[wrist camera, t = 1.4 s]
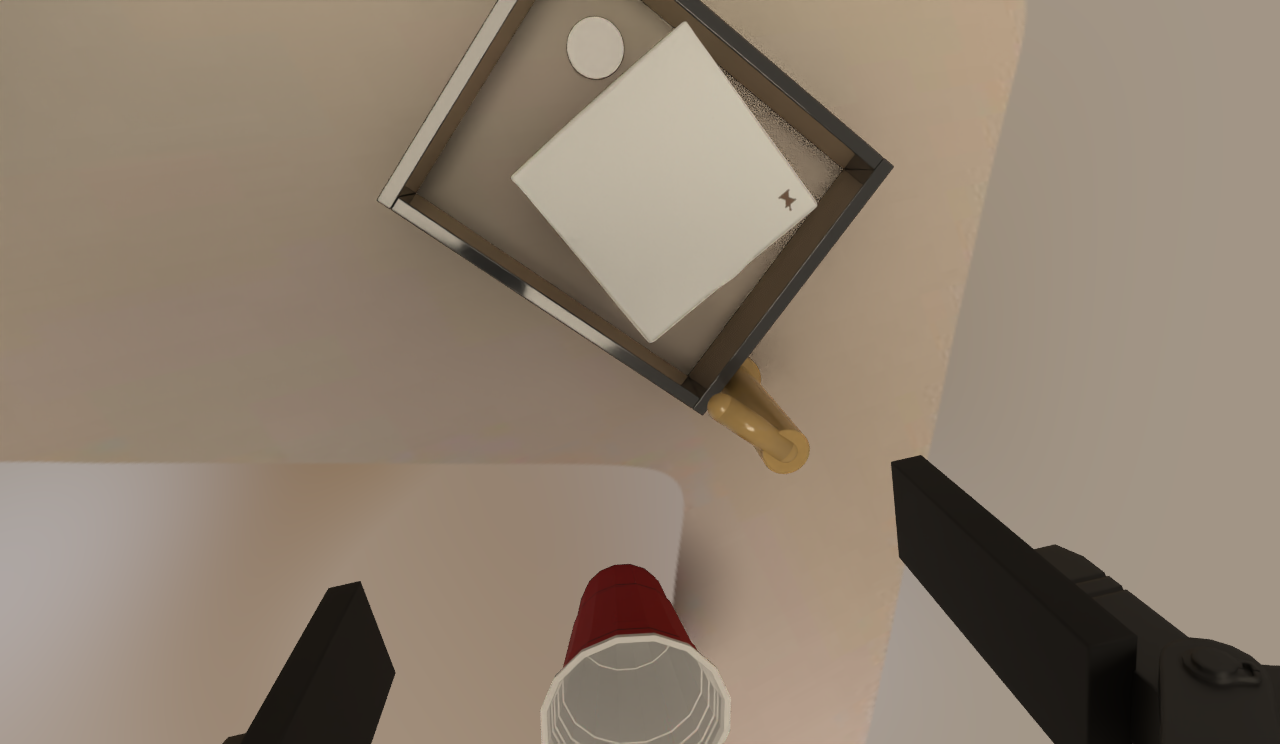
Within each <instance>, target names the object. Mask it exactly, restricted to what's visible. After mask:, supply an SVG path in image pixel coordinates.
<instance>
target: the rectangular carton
mask: <svg viewBox="0 0 1280 744" xmlns="http://www.w3.org/2000/svg"><path fill="white" fill-rule="evenodd" d="M511 179H512V180H513V182H514V183H515V184H516V185H517V186H518V187H519V188H520V189H521V190H522V191H523V192H524V194H525V195H526V196H527V197H528V198H529V199H530V201H531V202H532V203H533V204H534V205H535V207H536V208H537V209H538V210H539V211H540V213H541V214H542V215H543V216H544V217H545V219H546V220H547V221H548V222H549V224H550V225H551V226H552V227H553V228H554V230H555V231H556V232H557V233H558V234H559V236H560V237H561V238H562V239H563V240H564V242H565V243H566V244H567V245H568V246H569V248H570V249H571V250H572V251H573V252H574V254H575V255H576V256H577V257H578V258H579V260H580V261H581V262H582V263H583V264H584V266H585V267H586V268H587V269H588V270H589V272H590V273H591V274H592V275H593V276H594V278H595V279H596V280H597V281H598V282H599V284H600V285H601V286H602V287H603V289H604V290H605V291H606V292H607V294H608V295H609V296H610V297H611V298H612V300H613V301H614V302H615V303H616V305H617V306H618V307H619V308H620V309H621V311H622V312H623V313H624V314H625V316H626V317H627V318H628V319H629V320H630V322H631V323H632V324H633V325H634V326H635V328H636V329H637V330H638V331H639V332H640V334H641V335H642V336H643V337H644V338H645V339H646V340H647V341H648V342H649V343H652V342H654V341H656V340H657V339H658V338H659V337H661V336H662V335H663V334H664V333H665V332H667V331H668V330H669V329H670V328H671V327H673V326H674V325H675V324H676V323H677V322H679V321H680V320H681V319H682V318H684V317H685V316H686V315H687V314H688V313H690V312H691V311H692V310H693V309H694V308H696V307H697V306H698V305H699V304H700V303H702V302H703V301H704V300H705V299H707V298H708V297H709V296H710V295H711V294H713V293H714V292H715V291H716V290H718V289H719V288H720V287H721V286H723V285H724V284H726V283H728V282H729V281H730V280H732V279H733V278H734V277H735V276H737V275H738V274H739V273H740V272H741V271H742V270H743V269H744V268H745V266H746V265H748V264H749V263H750V262H751V261H753V260H754V259H755V258H756V257H757V256H759V255H760V254H761V253H762V252H763V251H765V250H766V249H767V248H768V247H769V246H771V245H772V244H773V243H774V242H775V241H777V240H778V239H779V238H780V237H782V236H783V235H784V234H785V233H787V232H788V231H789V230H790V229H792V228H793V227H794V226H795V225H796V224H798V223H799V222H800V221H801V220H802V219H803V218H805V217H806V216H807V215H808V214H809V213H810V212H812V211H813V210H814V209H815V208H816V207H817V202H816V200H815V199H814V197H813V196H812V195H811V193H810V192H809V190H808V189H807V188H806V186H805V185H804V183H803V182H802V181H801V179H800V178H799V176H798V175H797V174H796V172H795V171H794V169H793V168H792V167H791V165H790V164H789V163H788V161H787V160H786V158H785V157H784V156H783V154H782V153H781V152H780V150H779V149H778V148H777V146H776V145H775V143H774V142H773V141H772V139H771V138H770V137H769V135H768V134H767V132H766V131H765V130H764V128H763V127H762V126H761V124H760V123H759V122H758V120H757V119H756V117H755V116H754V115H753V113H752V112H751V110H750V109H749V108H748V106H747V105H746V104H745V102H744V101H743V99H742V98H741V97H740V95H739V94H738V93H737V91H736V90H735V88H734V87H733V86H732V84H731V83H730V81H729V80H728V79H727V77H726V76H725V75H724V73H723V72H722V70H721V69H720V68H719V66H718V65H717V63H716V62H715V61H714V59H713V58H712V57H711V55H710V54H709V52H708V51H707V50H706V48H705V47H704V46H703V44H702V43H701V42H700V40H699V39H698V37H697V36H696V35H695V33H694V32H693V30H692V29H691V27H690V26H689V24H688V23H687V22H685V21H684V22H682V23H681V24H680V25H678V26H677V27H676V28H675V29H674V30H673V31H672V32H670V33H669V34H668V35H667V36H666V37H665V38H663V39H662V40H661V41H660V42H659V43H657V44H656V45H655V46H654V47H653V48H652V49H650V50H649V51H648V52H647V53H646V54H645V55H643V56H642V57H641V58H640V59H639V60H638V61H637V62H635V63H634V64H633V65H632V66H631V67H630V68H629V69H627V70H626V71H625V72H624V73H623V74H622V75H621V76H620V77H618V78H617V79H616V80H615V81H614V82H613V83H612V84H610V85H609V86H608V87H607V88H606V89H605V90H604V91H602V92H601V93H600V94H599V95H598V96H597V97H596V98H595V99H594V100H593V101H592V102H590V103H589V104H588V105H587V106H586V107H585V108H584V109H583V110H582V111H581V112H579V113H578V114H577V115H576V116H575V117H574V118H573V119H572V120H571V121H570V122H568V123H567V124H566V125H565V126H564V127H563V128H562V129H561V130H560V131H559V132H558V133H557V134H556V135H554V136H553V137H552V138H551V139H550V140H549V141H548V142H547V143H546V144H545V145H544V146H543V147H542V148H540V149H539V150H538V151H537V152H536V153H535V154H534V155H533V156H532V157H531V158H530V159H529V160H528V161H527V162H526V163H525V164H524V165H522V166H521V167H520V168H519V169H518V170H517V171H516V172H515V173H514V174H513V175H512V176H511Z"/></svg>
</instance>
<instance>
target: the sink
mask: <svg viewBox="0 0 1280 744" xmlns="http://www.w3.org/2000/svg"><path fill="white" fill-rule="evenodd" d="M641 1H642V2H644V3H645V4H646V5H647V6H648V7H650V8H651V9H652V10H653V11H654V12H656V13H657V14H658V15H659V16H660V17H662V18H663V19H664V20H665V21H666V22H668V23H669V24H670V25H671V26H672V27H674V28H676V27H677V26H678V25H680V24H681V23H682V22H684V21H685V22H687V23H688V24H689V26H690V27H691V29H692V30H693V32H694V33H695V35H696V36H697V37H698V39H699V40H700V42H701V43H702V44H703V46H704V47H705V48H706V50H707V51H708V52H709V54H710V55H711V57H712V58H713V59H714V61H715V62H716V63H717V64H718V65H719V66H721V67H722V68H723V69H724V70H725V71H727V72H728V73H729V74H730V75H731V76H733V77H734V78H735V79H736V80H737V81H739V82H740V83H741V84H742V85H743V86H745V87H746V88H747V89H748V90H749V91H751V92H752V93H753V94H754V95H755V96H757V97H758V98H759V99H760V100H761V101H763V102H764V103H765V104H766V105H767V106H769V107H770V108H771V109H772V110H773V111H775V112H776V113H777V114H778V115H779V116H781V117H782V118H783V119H784V120H785V121H787V122H788V123H789V124H790V125H791V126H793V127H794V128H795V129H796V130H797V131H799V132H800V133H801V134H802V135H803V136H805V137H806V138H807V139H808V140H809V141H811V142H812V143H813V144H814V145H815V146H817V147H818V148H819V149H820V150H821V151H823V152H824V153H825V154H826V155H827V156H829V157H830V158H831V159H832V160H833V161H835V162H836V163H837V164H838V165H839V166H841V167H842V168H843V171H842V172H841V173H840V175H839V176H838V177H837V179H836V180H835V181H834V183H833V184H832V185H831V187H830V188H829V189H828V191H827V192H826V193H825V195H824V196H823V197H822V199H821V200H820V201H819V203H818V204H817V207H816V208H815V209H814V210H813V211H812V212H811V213H810V215H809V216H808V217H807V219H806V220H805V221H804V223H803V224H802V225H801V227H800V228H799V229H798V231H797V232H796V233H795V235H794V236H793V237H792V239H791V240H790V241H789V243H788V244H787V245H786V247H785V248H784V249H783V251H782V252H781V253H780V255H779V256H778V257H777V259H776V260H775V261H774V262H773V264H772V265H771V266H770V268H769V269H768V270H767V272H766V273H765V274H764V276H763V277H762V278H761V280H760V281H759V282H758V284H757V285H756V286H755V288H754V289H753V290H752V292H751V293H750V294H749V296H748V297H747V298H746V300H745V301H744V302H743V304H742V305H741V306H740V308H739V309H738V310H737V312H736V313H735V314H734V316H733V317H732V318H731V320H730V321H729V322H728V324H727V325H726V326H725V328H724V329H723V330H722V332H721V333H720V334H719V336H718V337H717V338H716V340H715V341H714V342H713V344H712V345H711V346H710V348H709V349H708V350H707V352H706V353H705V354H704V356H703V357H702V358H701V360H700V361H699V362H698V364H697V365H696V366H695V368H694V369H693V370H692V371H691V373H690V374H689V375H688V376H687V375H686V374H684V373H683V372H681V371H680V370H678V369H677V368H675V367H674V366H672V365H671V364H669V363H668V362H666V361H665V360H663V359H662V358H660V357H659V356H657V355H656V354H654V353H653V352H651V351H650V350H648V349H647V348H646V347H644V346H643V345H641V344H640V343H638V342H637V341H635V340H634V339H632V338H631V337H629V336H628V335H626V334H625V333H623V332H622V331H620V330H619V329H617V328H616V327H614V326H613V325H611V324H610V323H608V322H607V321H605V320H604V319H603V318H601V317H600V316H598V315H597V314H595V313H594V312H592V311H591V310H589V309H588V308H586V307H585V306H583V305H582V304H580V303H579V302H577V301H576V300H574V299H573V298H571V297H570V296H568V295H567V294H565V293H564V292H562V291H561V290H559V289H558V288H557V287H555V286H554V285H552V284H551V283H549V282H548V281H546V280H545V279H543V278H542V277H540V276H539V275H537V274H536V273H534V272H533V271H531V270H530V269H528V268H527V267H525V266H524V265H522V264H521V263H519V262H518V261H516V260H515V259H514V258H512V257H511V256H509V255H508V254H506V253H505V252H503V251H502V250H500V249H499V248H497V247H496V246H494V245H493V244H491V243H490V242H488V241H487V240H485V239H484V238H482V237H481V236H479V235H478V234H476V233H475V232H473V231H472V230H470V229H469V228H468V227H466V226H465V225H463V224H462V223H460V222H459V221H457V220H456V219H454V218H453V217H451V216H450V215H448V214H447V213H445V212H444V211H442V210H441V209H439V208H438V207H436V206H435V205H433V204H432V203H430V202H429V201H427V200H426V199H424V198H423V197H422V196H420V195H419V194H416V193H417V191H418V190H419V188H420V186H421V185H422V183H423V182H424V180H425V178H426V177H427V175H428V173H429V172H430V170H431V169H432V167H433V165H434V164H435V162H436V160H437V159H438V157H439V156H440V154H441V152H442V151H443V149H444V147H445V146H446V144H447V143H448V141H449V139H450V138H451V136H452V134H453V133H454V131H455V130H456V128H457V126H458V125H459V123H460V122H461V120H462V118H463V117H464V115H465V113H466V112H467V110H468V109H469V107H470V105H471V104H472V102H473V100H474V99H475V97H476V96H477V94H478V92H479V91H480V89H481V87H482V86H483V84H484V83H485V81H486V79H487V78H488V76H489V75H490V73H491V71H492V70H493V68H494V66H495V65H496V63H497V62H498V60H499V58H500V57H501V55H502V53H503V52H504V50H505V49H506V47H507V45H508V44H509V42H510V40H511V39H512V37H513V36H514V34H515V32H516V31H517V29H518V28H519V26H520V24H521V23H522V21H523V19H524V18H525V16H526V15H527V13H528V11H529V10H530V8H531V6H532V5H533V3H534V2H535V0H497V2H496V3H495V5H494V7H493V8H492V10H491V12H490V13H489V15H488V17H487V18H486V20H485V22H484V23H483V25H482V27H481V28H480V30H479V32H478V33H477V35H476V36H475V38H474V40H473V41H472V43H471V45H470V46H469V48H468V50H467V51H466V53H465V55H464V56H463V58H462V60H461V61H460V63H459V65H458V66H457V68H456V70H455V71H454V73H453V74H452V76H451V78H450V79H449V81H448V83H447V84H446V86H445V88H444V89H443V91H442V93H441V94H440V96H439V98H438V99H437V101H436V103H435V104H434V106H433V108H432V109H431V111H430V112H429V114H428V116H427V117H426V119H425V121H424V122H423V124H422V126H421V127H420V129H419V131H418V132H417V134H416V136H415V137H414V139H413V141H412V142H411V144H410V146H409V147H408V149H407V150H406V152H405V154H404V155H403V157H402V159H401V160H400V162H399V164H398V165H397V167H396V169H395V170H394V172H393V174H392V175H391V177H390V179H389V180H388V182H387V184H386V185H385V187H384V188H383V190H382V192H381V193H380V195H379V197H378V198H377V201H378V202H380V203H381V204H383V205H384V206H386V207H387V208H389V209H391V210H392V211H393V212H395V213H396V214H398V215H399V216H401V217H402V218H404V219H405V220H407V221H409V222H410V223H412V224H413V225H415V226H416V227H418V228H419V229H421V230H422V231H424V232H425V233H427V234H428V235H430V236H431V237H433V238H434V239H436V240H437V241H439V242H440V243H442V244H443V245H445V246H446V247H448V248H449V249H451V250H452V251H454V252H455V253H457V254H459V255H460V256H462V257H463V258H465V259H466V260H468V261H469V262H471V263H472V264H474V265H475V266H477V267H478V268H480V269H481V270H483V271H484V272H486V273H487V274H489V275H490V276H492V277H493V278H495V279H496V280H498V281H499V282H501V283H502V284H504V285H505V286H507V287H509V288H510V289H512V290H513V291H515V292H516V293H518V294H519V295H521V296H522V297H524V298H525V299H527V300H528V301H530V302H531V303H533V304H534V305H536V306H537V307H539V308H540V309H542V310H543V311H545V312H546V313H548V314H549V315H551V316H552V317H554V318H555V319H557V320H559V321H560V322H562V323H563V324H565V325H566V326H568V327H569V328H571V329H572V330H574V331H575V332H577V333H578V334H580V335H581V336H583V337H584V338H586V339H587V340H589V341H590V342H592V343H593V344H595V345H596V346H598V347H599V348H601V349H602V350H604V351H605V352H607V353H609V354H610V355H612V356H613V357H615V358H616V359H618V360H619V361H621V362H622V363H624V364H625V365H627V366H628V367H630V368H631V369H633V370H634V371H636V372H637V373H639V374H640V375H642V376H643V377H645V378H646V379H648V380H649V381H651V382H652V383H654V384H655V385H657V386H659V387H660V388H662V389H663V390H665V391H666V392H668V393H669V394H671V395H672V396H674V397H675V398H677V399H678V400H680V401H681V402H683V403H684V404H686V405H687V406H689V407H690V408H693V410H695V411H696V412H698V413H699V414H701V415H704V414H705V412H706V411H707V410H708V413H709V415H710V416H711V417H712V418H713V419H714V420H716V421H717V422H719V423H720V424H722V425H723V426H725V427H726V428H728V429H729V430H731V431H732V432H734V433H735V434H737V435H738V436H740V437H741V438H743V439H744V440H746V441H747V442H749V443H750V444H752V445H753V446H754V448H755V449H756V451H757V452H758V454H759V456H760V457H761V459H762V460H763V462H764V463H765V465H766V466H767V467H768V468H769V469H770V470H771V471H773V472H776V473H780V474H788V473H792V472H794V471H796V470H798V469H799V468H801V467H802V466H803V465H804V464H805V462H806V461H807V459H808V456H809V451H810V447H809V442H808V440H807V438H806V437H805V436H804V434H803V433H802V432H801V431H800V430H799V429H798V427H797V426H796V425H795V424H794V423H793V422H792V420H791V419H790V418H789V417H788V416H787V415H786V413H785V412H784V411H783V410H782V409H781V408H780V406H779V405H778V404H777V403H776V402H775V401H774V399H773V398H772V397H771V396H770V395H769V394H768V392H767V391H766V390H765V389H764V388H763V387H762V385H761V384H760V383H761V375H760V371H759V369H758V367H757V365H756V364H755V363H754V362H753V361H752V360H751V359H750V358H749V357H748V356H749V355H750V354H751V352H752V351H753V350H754V348H755V347H756V346H757V345H758V343H759V342H760V341H761V339H762V338H763V337H764V335H765V334H766V333H767V332H768V330H769V329H770V328H771V326H772V325H773V324H774V322H775V321H776V320H777V318H778V317H779V316H780V315H781V313H782V312H783V311H784V309H785V308H786V307H787V305H788V304H789V303H790V302H791V300H792V299H793V298H794V296H795V295H796V294H797V292H798V291H799V290H800V289H801V287H802V286H803V285H804V283H805V282H806V281H807V279H808V278H809V277H810V276H811V274H812V273H813V272H814V270H815V269H816V268H817V266H818V265H819V264H820V263H821V261H822V260H823V259H824V257H825V256H826V255H827V253H828V252H829V251H830V250H831V248H832V247H833V246H834V244H835V243H836V242H837V240H838V239H839V238H840V236H841V235H842V234H843V233H844V231H845V230H846V229H847V227H848V226H849V225H850V223H851V222H852V221H853V220H854V218H855V217H856V216H857V214H858V213H859V212H860V210H861V209H862V208H863V207H864V205H865V204H866V203H867V201H868V200H869V199H870V197H871V196H872V195H873V194H874V192H875V191H876V190H877V188H878V187H879V186H880V184H881V183H882V182H883V181H884V179H885V178H886V177H887V175H888V174H889V173H890V171H891V170H892V169H893V168H894V166H893V165H892V164H891V163H890V162H888V161H887V160H886V159H885V158H883V157H882V156H881V155H880V154H879V153H878V152H877V151H875V150H874V149H873V148H872V147H871V146H870V145H868V144H867V143H866V142H865V141H864V140H863V139H861V138H860V137H859V136H858V135H857V134H856V133H854V132H853V131H852V130H851V129H850V128H849V127H847V126H846V125H845V124H844V123H843V122H842V121H840V120H839V119H838V118H837V117H836V116H835V115H833V114H832V113H831V112H830V111H829V110H828V109H826V108H825V107H824V106H823V105H822V104H820V103H819V102H818V101H817V100H816V99H815V98H813V97H812V96H811V95H810V94H809V93H808V92H806V91H805V90H804V89H803V88H802V87H801V86H799V85H798V84H797V83H796V82H795V81H794V80H792V79H791V78H790V77H789V76H788V75H787V74H785V73H784V72H783V71H782V70H781V69H780V68H778V67H777V66H776V65H775V64H774V63H773V62H771V61H770V60H769V59H768V58H767V57H766V56H764V55H763V54H762V53H761V52H760V51H759V50H757V49H756V48H755V47H754V46H753V45H752V44H750V43H749V42H748V41H747V40H746V39H745V38H743V37H742V36H741V35H740V34H739V33H738V32H736V31H735V30H734V29H733V28H732V27H731V26H729V25H728V24H727V23H726V22H725V21H724V20H722V19H721V18H720V17H719V16H718V15H717V14H715V13H714V12H713V11H712V10H711V9H710V8H708V7H707V6H706V5H705V4H704V3H703V2H701V1H700V0H641ZM567 54H568V58H569V60H570V63H571V64H572V66H573V67H574V69H575V70H576V71H577V72H578V73H579V74H581V75H582V76H584V77H587V78H589V79H603V78H606V77H608V76H610V75H611V74H613V73H614V72H615V71H616V70H617V68H618V67H619V65H620V64H621V61H622V59H623V54H624V43H623V39H622V36H621V34H620V32H619V30H618V29H617V27H616V26H615V25H614V24H613V23H612V22H610V21H609V20H607V19H605V18H602V17H597V16H592V17H587V18H584V19H582V20H580V21H579V22H578V23H576V24H575V26H574V27H573V28H572V30H571V31H570V33H569V36H568V40H567Z"/></svg>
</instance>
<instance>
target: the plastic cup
mask: <svg viewBox="0 0 1280 744" xmlns="http://www.w3.org/2000/svg"><path fill="white" fill-rule="evenodd" d="M730 713H731V698H730V695H729V693H728V691H727V689H726V687H725V684H724V682H723V680H722V678H721V676H720V673H719V671H718V669H717V668H716V667H715V665H713V664H712V663H711V662H710V661H709V660H708V659H706V658H705V657H704V656H703V655H702V654H700V653H699V652H698V651H697V649H696V647H695V645H693V644H692V643H691V641H690V639H689V637H688V635H687V633H686V631H685V629H684V627H683V625H682V623H681V622H680V620H679V618H678V616H677V614H676V612H675V610H674V608H673V606H672V604H671V602H670V601H669V600H668V599H667V598H666V596H665V594H664V591H663V589H662V587H661V585H660V583H659V581H658V580H656V579H655V577H654V576H653V575H652V574H650V573H649V572H648V571H647V570H646V569H644V568H641V567H638V566H635V565H631V564H622V565H613V566H611V567H609V568H606V569H604V570H601V571H600V572H599V573H598V574H596V575H595V576H594V577H593V578H592V579H591V580H590V581H589V583H588V585H587V587H586V589H585V592H584V594H583V596H582V598H581V602H580V607H579V611H578V616H577V618H576V620H575V622H574V626H573V630H572V634H571V638H570V642H569V646H568V650H567V654H566V658H565V662H564V666H563V668H562V669H561V670H560V671H559V672H558V673H557V674H556V675H555V678H554V679H553V682H552V684H551V687H550V689H549V691H548V694H547V696H546V698H545V701H544V703H543V705H542V708H541V710H540V716H541V738H542V744H724V742H725V740H726V738H727V736H728V734H729V732H730Z"/></svg>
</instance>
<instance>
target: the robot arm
mask: <svg viewBox="0 0 1280 744" xmlns="http://www.w3.org/2000/svg"><path fill="white" fill-rule="evenodd" d="M891 467H892V479H893V491H894V503H895V515H896V526H897V538H898V550H899V558H900V559H901V560H902V561H903V562H904V564H905V565H906V566H907V567H908V568H909V570H910V571H911V572H912V573H913V574H914V576H915V577H916V578H917V579H918V580H919V582H920V583H921V584H922V585H923V586H924V588H925V589H926V590H927V591H928V592H929V594H930V595H931V596H932V597H933V598H934V599H935V601H936V602H937V603H938V604H939V605H940V607H941V608H942V609H943V610H944V612H945V613H946V614H947V615H948V616H949V618H950V619H951V620H952V621H953V622H954V624H955V625H956V626H957V627H958V628H959V630H960V631H961V632H962V633H963V634H964V636H965V637H966V638H967V639H968V640H969V642H970V643H971V644H972V645H973V646H974V648H975V649H976V650H977V651H978V653H979V654H980V655H981V656H982V657H983V659H984V660H985V661H986V662H987V663H988V664H989V666H990V667H991V668H992V669H993V670H994V672H995V673H996V674H997V675H998V677H999V678H1000V679H1001V680H1002V681H1003V683H1004V684H1005V685H1006V686H1007V687H1008V689H1009V690H1010V691H1011V692H1012V693H1013V695H1015V697H1016V698H1017V699H1018V701H1019V702H1020V703H1021V704H1022V705H1023V706H1024V708H1025V709H1026V710H1027V711H1028V713H1029V714H1030V715H1031V716H1032V717H1033V719H1034V720H1035V721H1036V722H1037V723H1038V725H1039V726H1040V727H1041V728H1042V729H1043V731H1044V732H1045V733H1046V734H1047V735H1048V737H1049V738H1050V739H1051V740H1052V741H1053V743H1054V744H1280V666H1270V665H1261V664H1260V663H1259V662H1257V661H1256V660H1255V659H1254V658H1253V657H1251V656H1250V655H1248V654H1246V653H1244V652H1242V651H1240V650H1239V649H1237V648H1235V647H1233V646H1230V645H1227V644H1224V643H1220V642H1217V641H1214V640H1210V639H1200V638H1189V637H1187V636H1186V635H1185V634H1184V633H1182V632H1181V631H1180V630H1178V629H1177V628H1176V627H1174V626H1173V625H1172V624H1171V623H1169V622H1168V621H1167V620H1165V619H1164V618H1163V617H1161V616H1160V615H1159V614H1157V613H1156V612H1155V611H1154V610H1152V609H1151V608H1150V607H1148V606H1147V605H1146V604H1145V603H1143V602H1142V601H1141V600H1139V599H1138V598H1137V597H1136V596H1134V595H1133V594H1132V593H1130V592H1129V591H1128V590H1123V588H1122V586H1121V585H1120V584H1119V583H1117V582H1116V581H1115V580H1113V579H1112V578H1111V577H1110V576H1106V575H1105V573H1104V572H1103V571H1102V570H1100V569H1099V568H1098V567H1096V566H1095V565H1094V564H1092V563H1091V562H1090V561H1089V560H1087V559H1086V558H1085V557H1084V556H1081V555H1079V554H1076V553H1074V552H1072V551H1069V550H1067V549H1065V548H1062V547H1060V546H1058V545H1051V546H1046V547H1042V548H1038V549H1033V548H1031V547H1030V546H1029V545H1028V544H1027V543H1026V542H1024V541H1023V540H1022V539H1021V538H1020V537H1018V536H1017V535H1016V534H1015V533H1014V532H1012V531H1011V530H1010V529H1009V528H1008V527H1006V526H1005V525H1004V524H1003V523H1002V522H1000V521H999V520H998V519H997V518H996V517H994V516H993V515H992V514H991V513H990V512H988V511H987V510H986V509H985V508H984V507H982V506H981V505H980V504H979V503H978V502H976V501H975V500H974V499H973V498H972V497H971V496H969V495H968V494H967V493H965V491H963V490H962V489H961V488H960V487H958V486H957V485H956V484H955V483H954V482H952V481H951V480H950V479H949V478H947V476H945V475H944V474H943V473H942V472H941V471H940V470H938V469H937V468H936V467H935V466H933V465H932V464H931V463H930V462H929V461H928V460H926V459H925V458H924V457H923V456H922V455H919V456H915V457H911V458H906V459H902V460H897V461H893V462H891ZM394 676H395V670H394V667H393V665H392V662H391V660H390V657H389V654H388V652H387V649H386V647H385V645H384V641H383V639H382V636H381V634H380V631H379V629H378V626H377V623H376V621H375V618H374V615H373V613H372V610H371V608H370V605H369V602H368V600H367V597H366V594H365V592H364V589H363V587H362V584H361V581H359V582H354V583H350V584H345V585H341V586H336V587H332V588H329V589H328V590H327V592H326V593H325V595H324V597H323V599H322V600H321V602H320V604H319V606H318V608H317V610H316V611H315V613H314V615H313V616H312V618H311V620H310V622H309V623H308V625H307V627H306V629H305V630H304V632H303V634H302V636H301V637H300V639H299V641H298V643H297V644H296V646H295V648H294V650H293V652H292V653H291V655H290V657H289V659H288V660H287V662H286V664H285V666H284V667H283V669H282V671H281V673H280V675H279V676H278V678H277V680H276V681H275V683H274V685H273V687H272V688H271V690H270V692H269V694H268V695H267V698H266V699H265V701H264V703H263V704H262V706H261V708H260V710H259V711H258V713H257V715H256V717H255V719H254V720H253V722H252V724H251V725H250V727H249V729H248V731H247V732H246V733H245V734H241V735H236V736H232V737H228V738H227V739H226V740H225V741H224V743H223V744H371V742H372V740H373V737H374V734H375V731H376V728H377V725H378V722H379V719H380V716H381V713H382V710H383V708H384V705H385V702H386V699H387V696H388V693H389V690H390V687H391V684H392V681H393V679H394Z"/></svg>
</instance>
